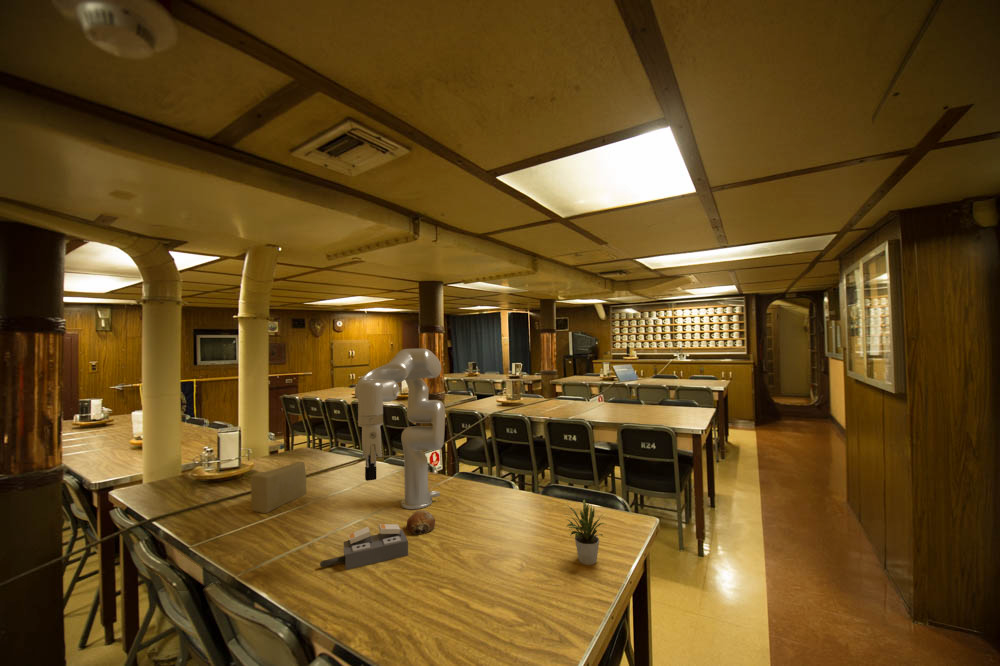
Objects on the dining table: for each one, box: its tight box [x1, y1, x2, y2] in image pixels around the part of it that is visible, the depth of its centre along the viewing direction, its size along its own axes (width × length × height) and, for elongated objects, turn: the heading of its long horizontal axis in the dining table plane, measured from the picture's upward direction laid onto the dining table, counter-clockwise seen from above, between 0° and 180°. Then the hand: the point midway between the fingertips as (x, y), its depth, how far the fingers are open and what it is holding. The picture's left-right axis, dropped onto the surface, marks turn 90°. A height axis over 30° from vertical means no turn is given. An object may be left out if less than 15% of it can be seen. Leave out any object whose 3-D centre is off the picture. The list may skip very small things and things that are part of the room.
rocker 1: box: [348, 526, 372, 544], centre depth 124 cm, size 6×4×2 cm, turn 115°
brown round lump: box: [406, 509, 436, 536], centre depth 142 cm, size 10×10×8 cm
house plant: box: [562, 499, 606, 566], centre depth 119 cm, size 14×14×16 cm
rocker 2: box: [378, 523, 401, 534], centre depth 128 cm, size 6×4×2 cm, turn 114°
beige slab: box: [250, 461, 307, 514], centre depth 171 cm, size 22×10×15 cm, turn 155°
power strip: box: [319, 528, 409, 571], centre depth 122 cm, size 25×9×5 cm, turn 115°
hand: (370, 479), depth 126 cm, fingers closed
